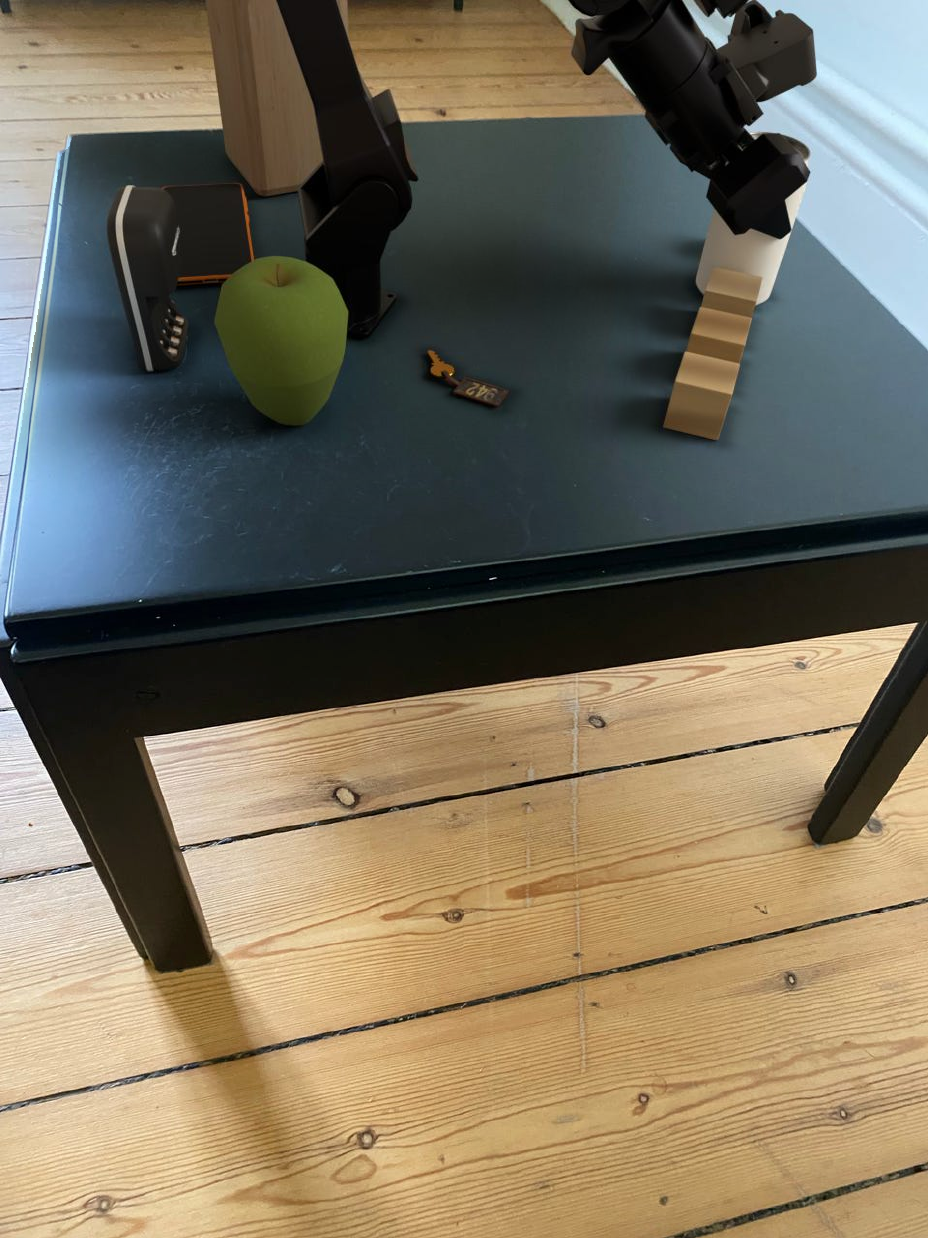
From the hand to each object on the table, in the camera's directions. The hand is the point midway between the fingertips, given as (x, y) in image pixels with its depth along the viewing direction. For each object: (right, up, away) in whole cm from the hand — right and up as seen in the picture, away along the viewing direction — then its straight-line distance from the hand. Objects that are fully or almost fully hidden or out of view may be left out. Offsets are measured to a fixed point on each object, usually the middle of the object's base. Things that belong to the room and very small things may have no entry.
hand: (768, 214), depth 77 cm
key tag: (-25, -15, -6) cm, 29 cm away
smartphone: (-47, +1, +6) cm, 48 cm away
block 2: (-6, -14, -4) cm, 15 cm away
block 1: (-4, -9, +1) cm, 10 cm away
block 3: (-8, -18, -8) cm, 21 cm away
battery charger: (-47, -13, -5) cm, 49 cm away
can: (-2, -5, +5) cm, 7 cm away
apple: (-37, -19, -10) cm, 43 cm away
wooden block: (-42, +11, +15) cm, 46 cm away
